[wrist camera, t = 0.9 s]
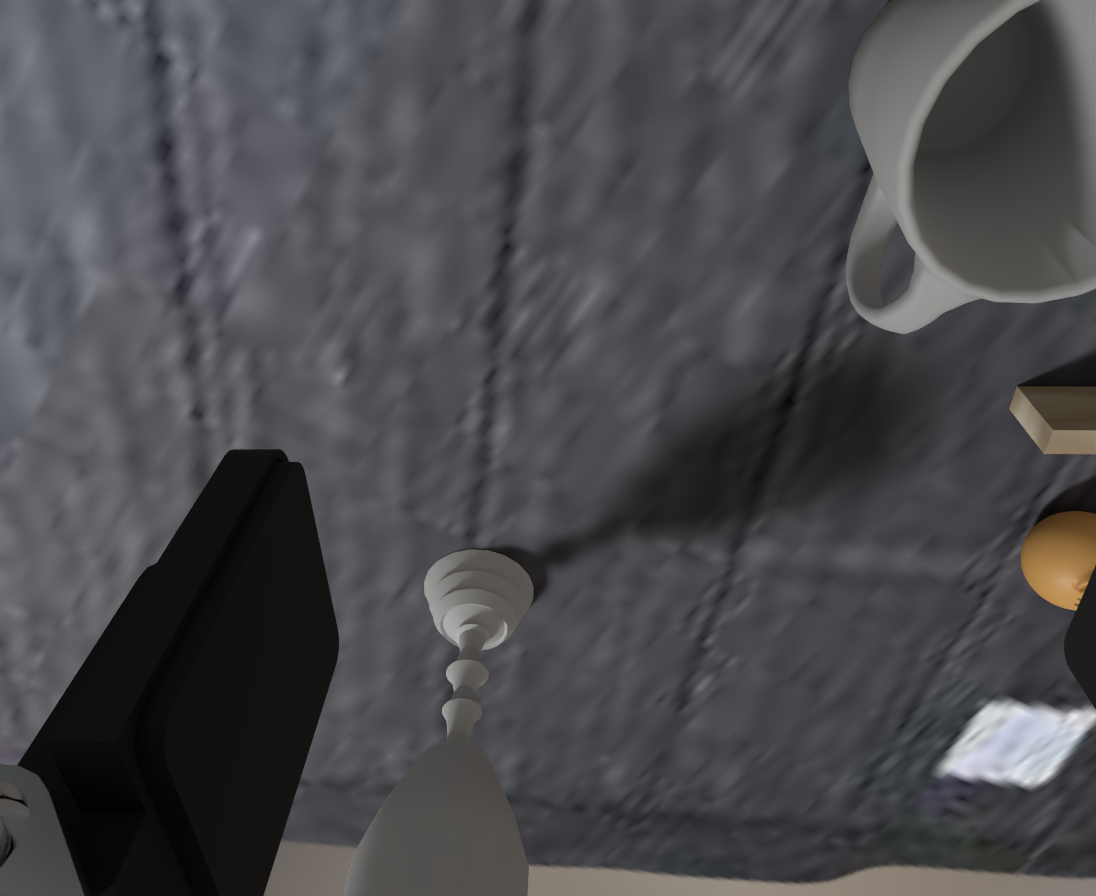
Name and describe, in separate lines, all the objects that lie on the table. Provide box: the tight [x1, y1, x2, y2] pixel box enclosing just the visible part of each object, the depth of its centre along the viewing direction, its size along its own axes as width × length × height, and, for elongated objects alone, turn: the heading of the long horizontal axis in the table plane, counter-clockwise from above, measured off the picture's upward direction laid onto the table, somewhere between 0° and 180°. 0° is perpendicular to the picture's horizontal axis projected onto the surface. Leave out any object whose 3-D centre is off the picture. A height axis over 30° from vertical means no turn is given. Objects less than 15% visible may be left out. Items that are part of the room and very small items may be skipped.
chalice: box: [344, 549, 534, 896], centre depth 32 cm, size 7×7×18 cm
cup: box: [846, 0, 1096, 334], centre depth 23 cm, size 8×10×8 cm
